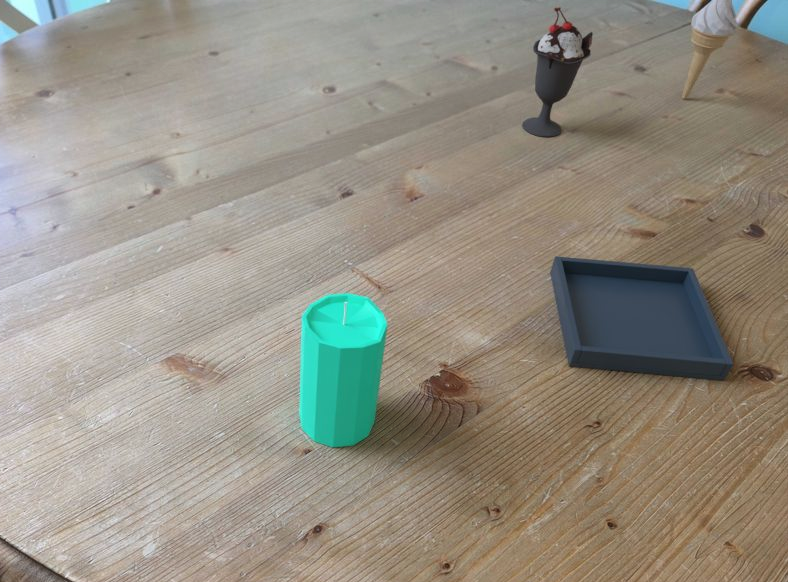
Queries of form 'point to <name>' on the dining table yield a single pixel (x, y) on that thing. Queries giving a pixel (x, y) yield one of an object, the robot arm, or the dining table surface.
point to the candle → (340, 368)
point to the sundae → (556, 72)
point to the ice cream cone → (709, 35)
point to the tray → (637, 319)
